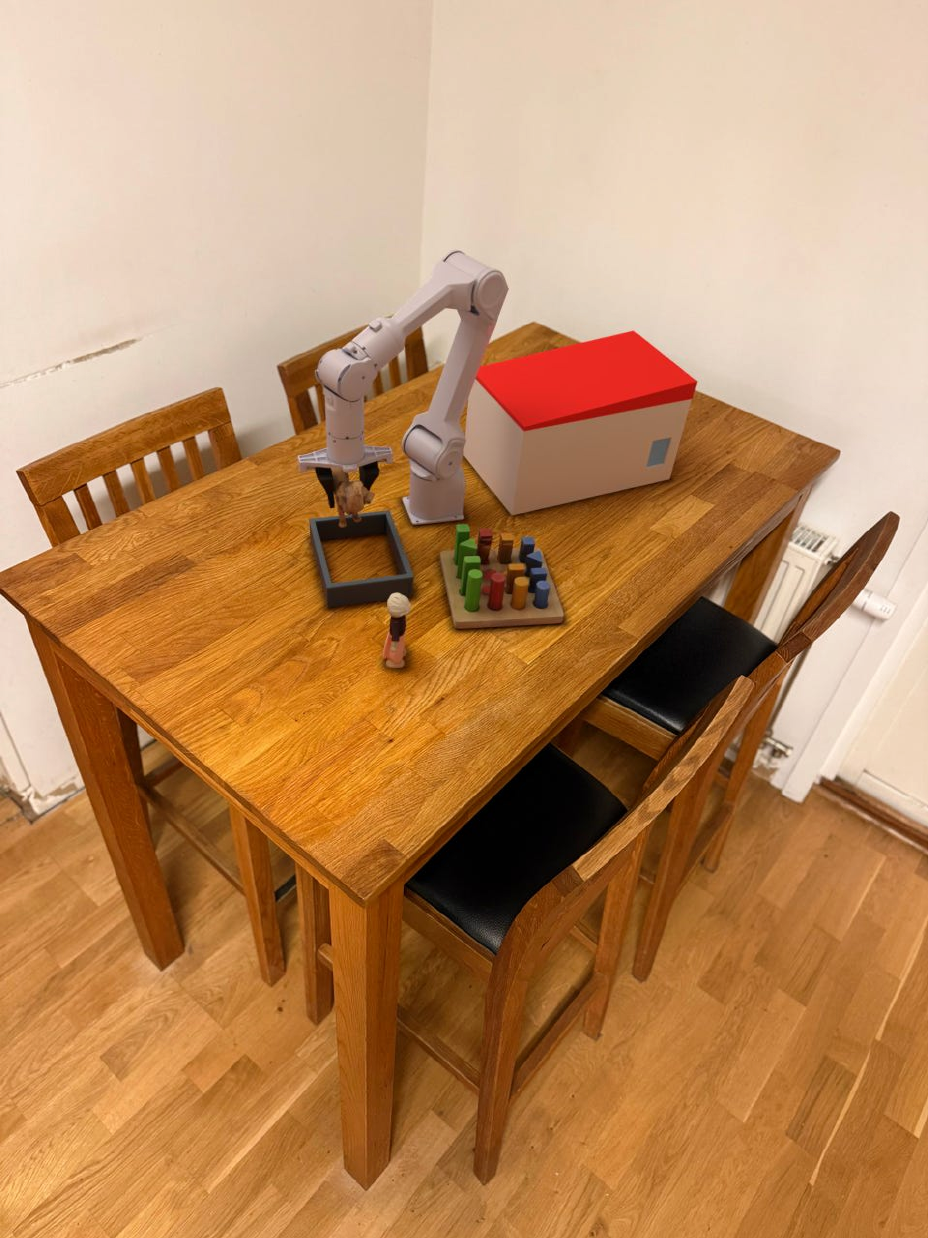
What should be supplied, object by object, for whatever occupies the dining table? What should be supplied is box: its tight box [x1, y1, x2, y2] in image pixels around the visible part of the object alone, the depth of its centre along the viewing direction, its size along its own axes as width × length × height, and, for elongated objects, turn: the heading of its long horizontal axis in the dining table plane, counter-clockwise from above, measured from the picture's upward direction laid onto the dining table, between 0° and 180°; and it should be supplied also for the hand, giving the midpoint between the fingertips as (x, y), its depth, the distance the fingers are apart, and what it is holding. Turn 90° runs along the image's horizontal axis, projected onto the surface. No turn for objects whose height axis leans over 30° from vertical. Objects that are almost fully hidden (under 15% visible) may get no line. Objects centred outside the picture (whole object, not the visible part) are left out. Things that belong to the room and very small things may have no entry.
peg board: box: [439, 523, 565, 630], centre depth 141 cm, size 18×17×9 cm
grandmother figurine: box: [382, 593, 412, 669], centre depth 127 cm, size 8×4×13 cm, turn 5°
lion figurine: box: [327, 468, 375, 528], centre depth 141 cm, size 15×5×9 cm, turn 29°
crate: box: [308, 509, 415, 609], centre depth 144 cm, size 14×18×4 cm
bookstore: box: [463, 330, 699, 516], centre depth 165 cm, size 21×35×21 cm, turn 116°
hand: (346, 502), depth 143 cm, fingers closed on lion figurine, 4 cm apart
